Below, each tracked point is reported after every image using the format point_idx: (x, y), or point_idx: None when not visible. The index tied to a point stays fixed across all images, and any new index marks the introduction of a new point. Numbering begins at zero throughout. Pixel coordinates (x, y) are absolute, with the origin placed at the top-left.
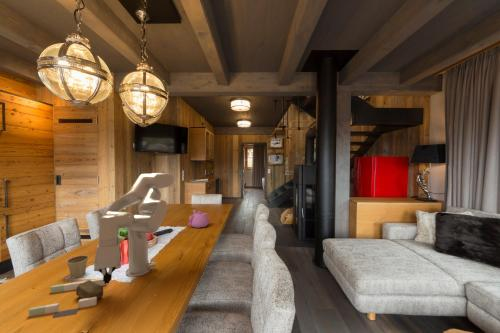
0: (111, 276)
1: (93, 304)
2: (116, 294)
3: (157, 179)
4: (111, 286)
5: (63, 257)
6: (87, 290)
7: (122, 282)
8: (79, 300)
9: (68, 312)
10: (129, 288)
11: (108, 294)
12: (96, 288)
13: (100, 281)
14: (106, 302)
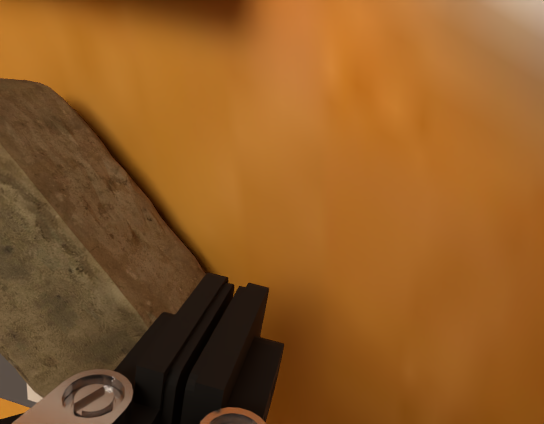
0: (273, 380)
1: None
2: (368, 314)
3: None
4: (314, 71)
5: None
6: (29, 379)
7: (476, 17)
8: (29, 389)
9: (20, 375)
10: (534, 267)
11: (286, 264)
12: None
13: None
14: (276, 397)
